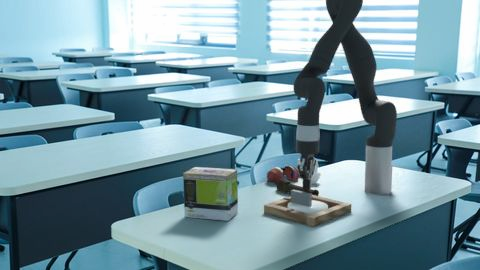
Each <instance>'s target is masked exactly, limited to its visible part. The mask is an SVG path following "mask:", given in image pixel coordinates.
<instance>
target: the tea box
mask: <svg viewBox="0 0 480 270" xmlns="http://www.w3.org/2000/svg"><path fill="white" fill-rule="evenodd" d="M182 176H183V177H182V179H183V202H184V203H183V208H184V209H183V211H184V217H185V218H190V219H191V218H193V219H202V220H203V219H204V220H213V221H225V222H229V221H230V220H232V218H234V217H235V216H236V215H238V212H239V209H238V208H239V196H238V195H239V194H238V193H239V192H238V191H239V190H238V168H237V169H236V168H223V167H222V168H221V167H220V168H219V167H207V166H206V167H201V166H195V167H192V168H190V169H189V170H187V171H185V172H183V173H182Z"/></svg>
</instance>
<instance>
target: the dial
mask: <svg viewBox="0 0 480 270" xmlns="http://www.w3.org/2000/svg"><path fill="white" fill-rule="evenodd" d="M290 196H291V202H290V203H289V204H288V208H289V209H291V208H292V209H294V210H297V211H300V212H304V213H308V214H315V213H318V212H320V211H323V210H326V209H328V205H327V204H326V203H323V202H320V201H315V200H312V194H311V193H306V192H302V191H298V190H291V193H290Z"/></svg>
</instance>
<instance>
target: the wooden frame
mask: <svg viewBox="0 0 480 270" xmlns="http://www.w3.org/2000/svg"><path fill="white" fill-rule="evenodd" d="M312 200H315V201H320V202H323V203H326V204H327V205H328V209H326V210H323V211H320V212H318V213H315V214H308V213H304V212H300V211H297V210H294V209H292V208H291V209H289V208H288V204H289V203H290V202H291V195H290V196H286V197H283V198H281V199H278V200H274V201H272V202H268V203H265V204H263V214H266V215H269V216H273V217H276V218H280V219H283V220H286V221H290V222H294V223H296V224H297V223H298V224H301V225H304V226H308V227H312V228H315V227H318V226H320V225H323V224H325V223H328V222H330V221H333V220H336V219H338V218H341V217H343V216H345V215H348V214H351V213H352V203H348V202H344V201H340V200H338V199H337V200H336V199H332V198H328V197H322V196H319V195H318V196H316V195H312Z"/></svg>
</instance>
